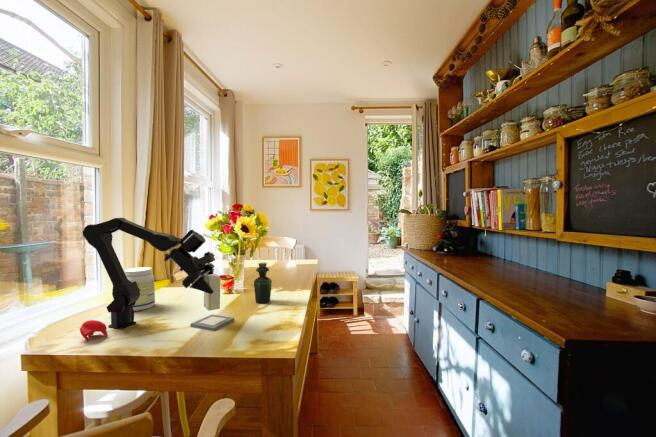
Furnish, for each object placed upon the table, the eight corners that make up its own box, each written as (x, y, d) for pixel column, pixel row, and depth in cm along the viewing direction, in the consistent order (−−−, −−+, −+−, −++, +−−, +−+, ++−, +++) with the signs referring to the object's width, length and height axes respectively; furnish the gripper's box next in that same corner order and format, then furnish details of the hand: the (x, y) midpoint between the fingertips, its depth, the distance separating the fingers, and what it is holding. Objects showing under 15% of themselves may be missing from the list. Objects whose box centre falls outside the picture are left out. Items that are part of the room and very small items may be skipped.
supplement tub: (161, 303, 143) (160, 266, 142) (142, 312, 131) (141, 272, 130) (136, 302, 144) (135, 266, 143) (115, 311, 132) (114, 271, 131)
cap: (75, 334, 100) (94, 322, 102) (76, 323, 104) (95, 312, 106) (93, 348, 104) (111, 336, 106) (93, 336, 109) (110, 325, 111)
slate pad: (213, 330, 111) (213, 327, 111) (190, 326, 115) (190, 323, 115) (234, 320, 121) (234, 317, 121) (212, 316, 125) (211, 314, 125)
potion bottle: (251, 301, 146) (250, 262, 145) (267, 298, 150) (266, 261, 150) (258, 305, 139) (258, 265, 138) (274, 302, 144) (274, 263, 143)
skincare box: (203, 306, 119) (203, 275, 118) (215, 304, 121) (215, 273, 121) (208, 311, 114) (208, 278, 113) (220, 308, 116) (220, 276, 116)
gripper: (191, 249, 107) (224, 281, 108) (209, 243, 126) (237, 270, 127) (168, 271, 107) (200, 303, 108) (189, 262, 126) (217, 289, 127)
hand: (215, 290), depth 117 cm, fingers closed on skincare box, 7 cm apart
